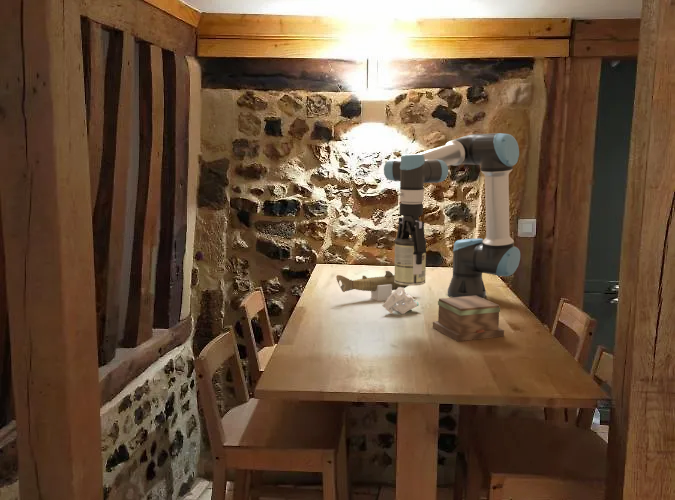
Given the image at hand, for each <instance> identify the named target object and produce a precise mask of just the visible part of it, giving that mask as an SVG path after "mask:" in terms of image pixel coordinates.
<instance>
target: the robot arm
mask: <svg viewBox="0 0 675 500" xmlns="http://www.w3.org/2000/svg"><path fill="white" fill-rule="evenodd" d="M519 157H520V148H519V143H518V141H517V140H516V138H515V137H514V136H513V135H512V134H510V133H501V132H499V133H497V132H495V133H473V134H467V135H464V136H461V137H457V138H455V139H452V140H449V141H447V142H446V143H445V145H442V146H438V147H435V148H431V149H428V150H426V151H422V152H420V153H419V152H418V153H413V154H412V153H409V154H407V153H406V154H402V155H401V157H400V158H391V159H388V160H387V161H386V162H385V163H384V166H383V175H384V177H385V178H386V179H387V180H389V181H393V182H400V186H399V188H400V189H399V193H398V195H399V202H400V203H399V209H398V211H399V215H400V216H403V217H398V227H397V234H396V239H398V238H402V239H409V238H412V242H414V251H415V252H414V253H413V274H414V275H416V274H422V254H423V253H426V254H427V243H426V244H425V240H426V237H425V222H424V221H420V218H419V217H420V216H422V215H423V213H424V204H423V202H424V185H425V184H433V183H434V184H437V183H442V182H444V181H445V180H446V179H447V178H448V176H449V167H448V166H455V167H456V166H461V165H475V166H479V167H480V172H481V173H482V174H483V175H484V191H485V192H484V193H485V194H484V197H485V201H484V202H485V227H486V228H485V229H486V230H485V231H486V232H485V238H484V239H483V238H479V237H476V238H463V239H457V240H456V241H455V242H454V243H453V250H452V254H453V255H452V257H453V258H452V277H451V280H450V282H449V285H448V288H447V296H448V297H449V298H452V297H464V296H475V295H476V296H478V297H481V298H483V299H485V298H486V296H487V291H486V286H485V283H484V280H483V274H488V275H493V276H498V277H510V276H512V275H514V273H515V272H516V271H517V269H518V267H519V264H520V260H521V251H520V249H519V248H518V247H517V246H515V241H514V239H513V238H512V237H511V236H510V235H511V234H510V191H509V190H510V187H509V186H510V185H509V182H510V181H509V180H510V179H509V175H510V173H511V172H512V171H513V169H514V168H513V167H514V166H515V165H516V164H517V163H518V161H519Z"/></svg>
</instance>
